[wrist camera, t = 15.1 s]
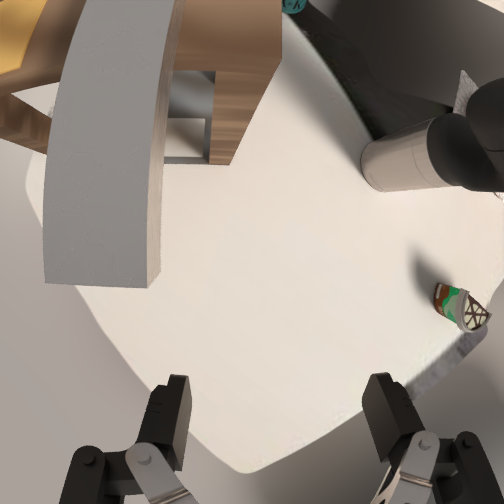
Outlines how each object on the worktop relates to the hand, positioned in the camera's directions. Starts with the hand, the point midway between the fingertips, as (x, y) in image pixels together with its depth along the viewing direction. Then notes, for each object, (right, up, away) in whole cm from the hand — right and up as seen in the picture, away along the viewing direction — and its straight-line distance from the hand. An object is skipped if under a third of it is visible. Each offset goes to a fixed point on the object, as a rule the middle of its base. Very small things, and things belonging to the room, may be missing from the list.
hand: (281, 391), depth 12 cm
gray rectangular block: (-7, +17, -1) cm, 18 cm away
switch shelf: (-16, +27, +29) cm, 43 cm away
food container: (+38, -5, +41) cm, 56 cm away
